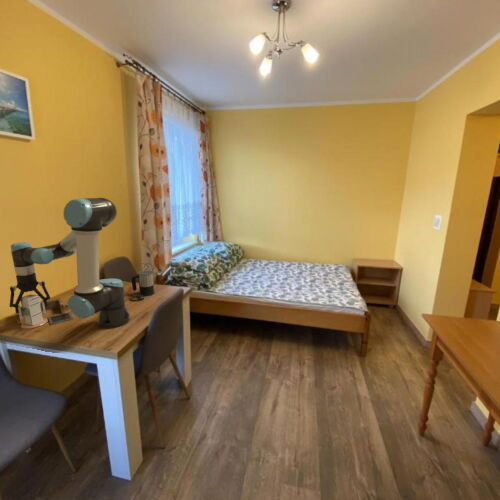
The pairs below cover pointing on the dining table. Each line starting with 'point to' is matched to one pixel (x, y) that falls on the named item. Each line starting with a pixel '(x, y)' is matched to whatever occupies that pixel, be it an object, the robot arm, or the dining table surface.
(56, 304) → the walnut bay
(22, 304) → the syrup box
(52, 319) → the drain grate
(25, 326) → the terracotta coaster
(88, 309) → the robot arm
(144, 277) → the milk frother
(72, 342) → the dining table surface
